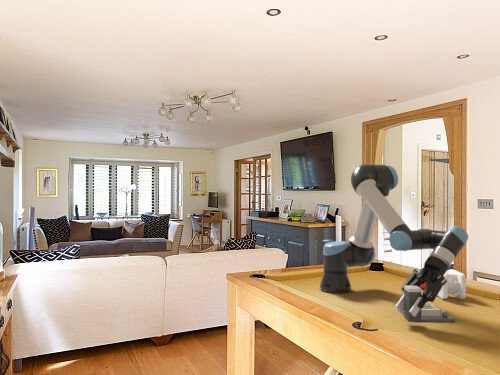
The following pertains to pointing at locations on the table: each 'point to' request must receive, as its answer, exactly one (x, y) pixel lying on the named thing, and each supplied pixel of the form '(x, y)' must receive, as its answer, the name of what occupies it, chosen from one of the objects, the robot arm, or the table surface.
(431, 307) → the board
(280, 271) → the table surface
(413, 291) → the tall square peg
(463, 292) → the white notched block
